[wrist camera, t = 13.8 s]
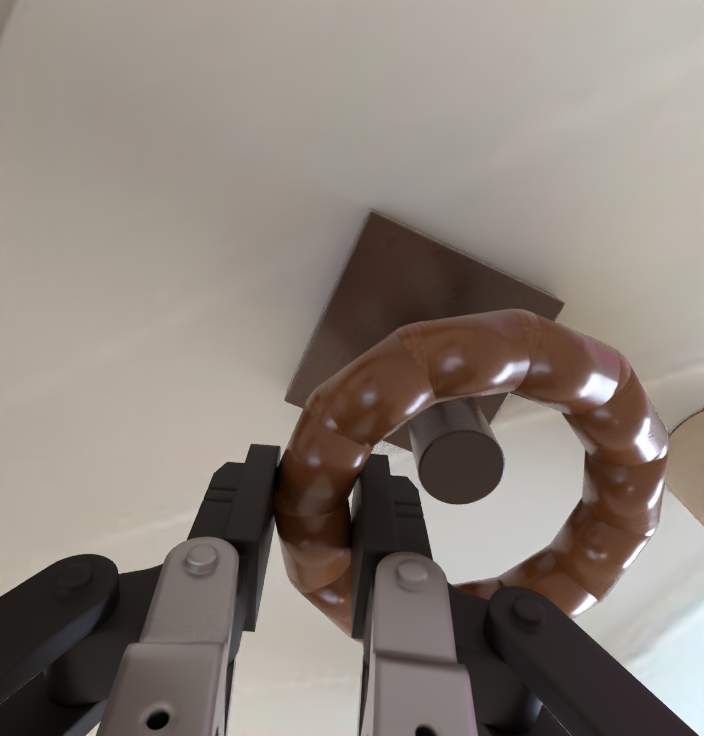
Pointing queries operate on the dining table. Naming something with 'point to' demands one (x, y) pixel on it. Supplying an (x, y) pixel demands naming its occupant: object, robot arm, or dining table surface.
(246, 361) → the dining table surface
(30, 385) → the dining table surface
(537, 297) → the stand
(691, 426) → the candle
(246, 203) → the dining table surface
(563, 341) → the ring
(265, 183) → the dining table surface
